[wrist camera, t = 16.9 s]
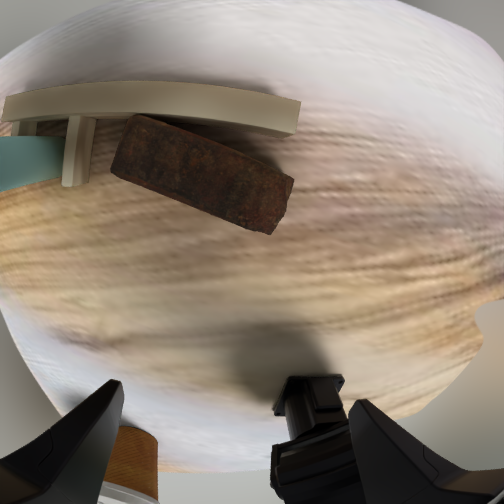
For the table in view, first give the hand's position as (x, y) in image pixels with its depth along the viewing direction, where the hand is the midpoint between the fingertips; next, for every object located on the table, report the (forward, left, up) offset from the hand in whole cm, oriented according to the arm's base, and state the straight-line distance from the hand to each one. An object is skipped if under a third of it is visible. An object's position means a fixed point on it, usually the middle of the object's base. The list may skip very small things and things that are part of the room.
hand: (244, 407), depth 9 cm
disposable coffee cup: (-28, +10, -13) cm, 32 cm away
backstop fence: (+9, +9, -13) cm, 18 cm away
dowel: (+7, +16, -13) cm, 22 cm away
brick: (+7, +3, -13) cm, 15 cm away
